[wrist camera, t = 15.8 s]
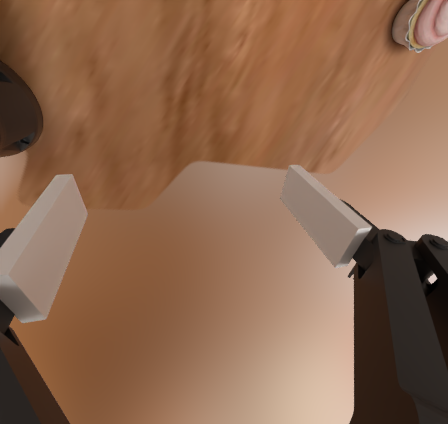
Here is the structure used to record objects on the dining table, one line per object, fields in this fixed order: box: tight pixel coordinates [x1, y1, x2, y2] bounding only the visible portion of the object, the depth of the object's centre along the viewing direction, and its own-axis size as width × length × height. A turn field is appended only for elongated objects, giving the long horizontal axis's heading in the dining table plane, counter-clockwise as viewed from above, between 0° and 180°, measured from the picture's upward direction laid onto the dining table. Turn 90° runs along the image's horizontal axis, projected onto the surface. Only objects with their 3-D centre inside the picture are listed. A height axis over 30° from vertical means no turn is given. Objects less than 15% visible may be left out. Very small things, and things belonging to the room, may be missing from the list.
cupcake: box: [392, 0, 448, 53], centre depth 36 cm, size 9×9×10 cm
